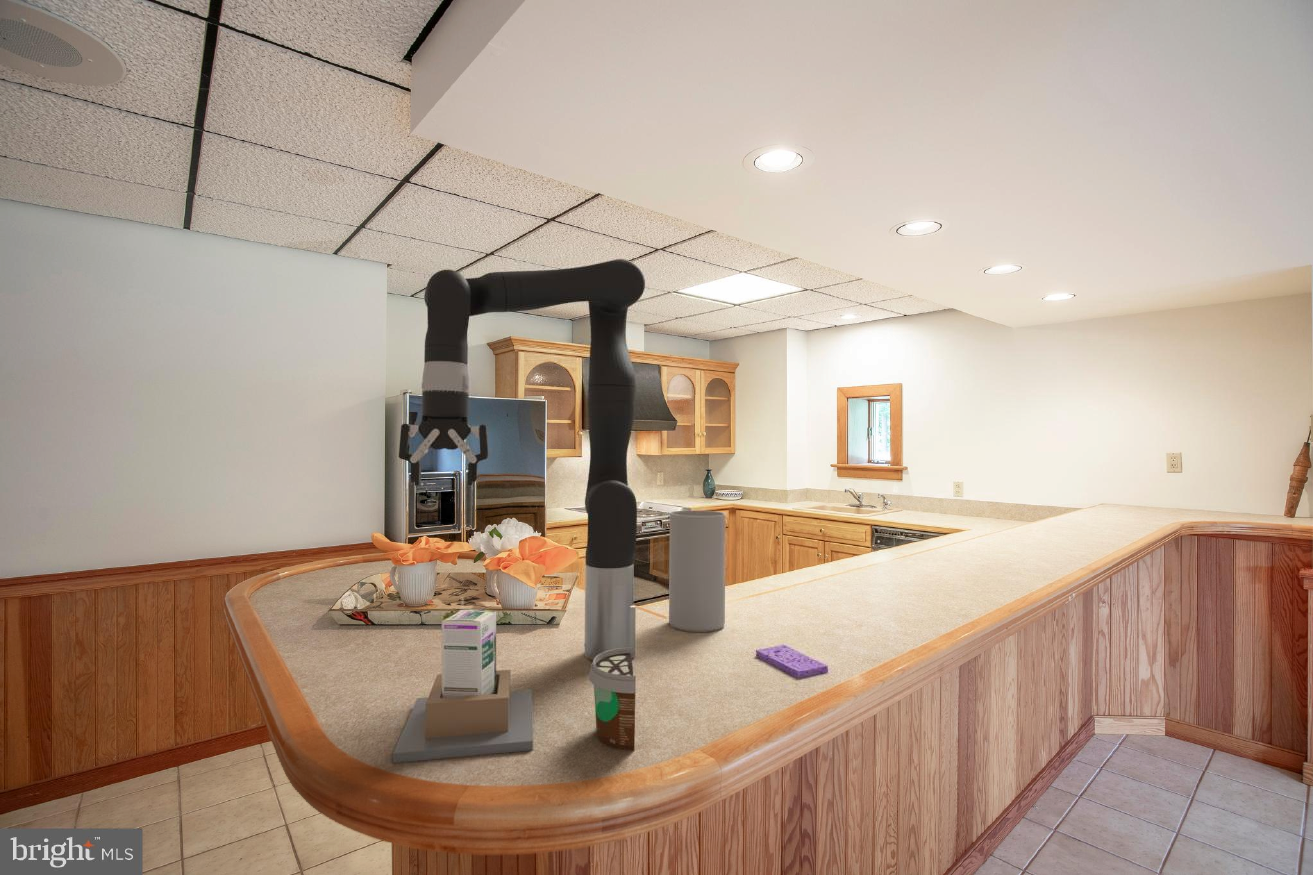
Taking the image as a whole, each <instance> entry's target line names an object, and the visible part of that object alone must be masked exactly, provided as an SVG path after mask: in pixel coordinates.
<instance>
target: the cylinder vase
mask: <svg viewBox="0 0 1313 875" xmlns="http://www.w3.org/2000/svg"><path fill="white" fill-rule="evenodd" d="M726 515H727V514H726V512H721V511H715V510H714V511H713V510H677V511H676V510H675V511H671V512H669V560H668V561H669V566H668V568H669V570H668V571H669V573H668V575H669V576H668V579H669V582H668V585H669V586H668V590H669V591H668V592H669V593H668V594H669V596H668V623H669V624H670V626H671V627H672V628H674V629H676V630H679V631H683V632H690V633H710V632H714V631H715V632H716V631H718V630H720V629H722V628H723V627H724V625H725V623H726V527H727V526H726V523H727V522H726V520H727V519H726Z"/></svg>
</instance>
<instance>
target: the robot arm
mask: <svg viewBox="0 0 1313 875" xmlns="http://www.w3.org/2000/svg"><path fill="white" fill-rule="evenodd" d="M645 288H646V280H645V276H644V273H643V271H642V270H641V268H640V267H639V266H638V265H637V264H636V263H635V262H633V261H630V260H628V259H625V258H616V259H613V260H612V259H611V260H608V261H603V262H599V263H593V264H589V265H583V266H577V267H570V268H569V267H568V268H557V269H542V270H539V269H538V270H516V271H515V270H513V271H511V270H510V271H494V272H487V273H484V274H483V275H481V276H479V277H471V278H465V277H464V276H463V274H461V273H460V272H458V271H456V270H453V269H441V270H438V271H437V272H435V273H434V274H433V275H432V276H431V277H430V278H429V280H428V282H427V284H426V288H425V291H424V295H423V296H424V304H425V306H426V310H427V329H426V334H425V337H424V364H423V372H422V380H421V381H422V382H421V390H422V391H421V392H422V394H421V421H420V423H419V425H418V424H409V423H402V424H401V426H400V436H399V437H400V438H399V448H398V458H399V459H400V460H404V461H407V462H409V463H410V481H411V483H414V486H416V487H418V486H419V487H420V486H421V484H422V463H421V462H420V461H421V460H422V458H423V457H424V456H425V455H426V454H428V453H429V450H431V449H433V450H443V449H446V450H453V451H454V450H458V449H460V451H461V452H462V454H463V455H464V456H465V457H466V459H467V460H468V461H469V463H468V465H467V486H473V485H474V483H475V482H477V480H478V463H479V462H481V461H484V460H487V459H488V458H489V446H488V444H489V443H488V428H487V425H485V424H480V425H473V426H471V425H470V423H469V422H470V421H469V403H470V402H469V400H470V399H469V397H470V396H469V395H470V394H469V391H470V390H469V389H470V377H469V369H468V368H469V366H468V361H469V360H468V358H469V357H468V354H469V353H468V352H469V347H468V344H469V343H468V329H469V322H470V317H473V316H479V315H483V314H488V313H489V314H490V313H510V312H511V313H512V312H524V311H525V312H527V311H534V310H540V309H545V308H550V307H554V306H560V305H564V304H565V305H566V304H570V303H578V302H579V303H582V302H583V303H584V302H587V303H588V312H589V313H588V314H589V325H590V326H589V327H590V345H589V359H588V360H589V362H588V363H589V366H588V369H589V372H588V384H587V385H588V386H587V388H588V389H587V418H588V420H587V421H588V422H587V423H588V438H589V439H588V440H589V452H590V453H589V454H590V455H589V456H590V457H589V468H588V477H587V484H586V485H587V486H586V492H585V498H584V508H585V511H586V513H587V537H586V538H587V541H586V549H585V568H584V569H585V570H584V571H585V575H584V576H585V578H584V580H585V581H584V584H585V585H584V588H585V589H584V643H583V644H584V645H583V647H584V656H585V658H587V659H588V660H591V661H593V660H594V658H595V657H596V656H597V655H599V654H601V653H603V652H605V651H609V650H613V649H618V648H627V647H632V659H635V658H636V610H637V609H636V605H635V604H634V583H635V582H634V578H635V577H634V574H635V573H634V569H635V568H634V566H635V564H634V563H635V553H636V552H635V551H636V548H637V530H638V528H637V527H638V522H637V521H638V505H637V497H636V495H635V493H634V491H633V490H632V489H631V488H630V487H629V483H628V465H627V462H628V461H627V460H628V449H629V444H630V439H631V435H632V431H633V426H634V420H635V413H636V391H637V390H636V387H637V386H636V375H635V370H634V366H633V362H632V359H631V357H630V356H631V355H630V352H629V349H628V345H627V335H626V333H627V332H626V331H627V318H628V311H629V310H628V309H629V307H631V306H633V305H635V304H636V303H637V302H638V301H639V300H640V299H641V297H642V296H643V293H644V291H645ZM417 432H418V433H419V434H420V435H421V436H422V438H423V439H424V440H423V442H422V443H420V445H419V447H418V448H417V449H416V450H415V452H414V453H413V454H412V453H410V446H411V438H413V437H415V435H416V434H417ZM471 432H472V433H473V434H474V436H475V438H476V439H479V453H477V454H475V453H474V451H472V449H471V448H470V446H469V445H468V443H467V442H466V441H465V440H466V439H467V438H468V437H469V435H470V434H471Z"/></svg>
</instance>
